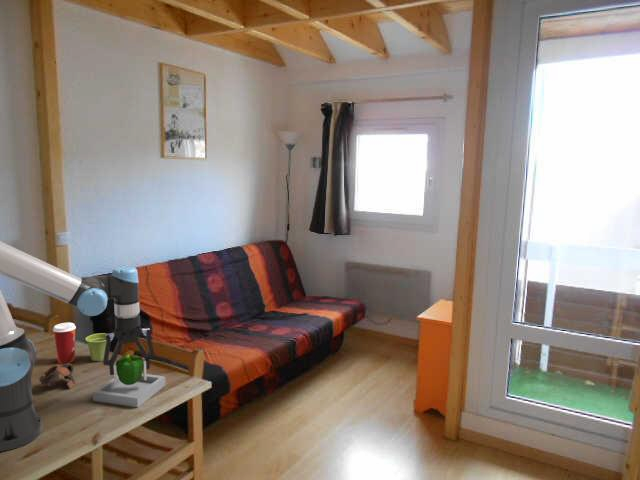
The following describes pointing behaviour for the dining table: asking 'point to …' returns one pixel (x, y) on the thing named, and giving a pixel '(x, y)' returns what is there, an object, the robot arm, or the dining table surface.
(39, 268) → the robot arm
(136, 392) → the gray square tray
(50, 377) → the pottery mug
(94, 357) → the plant pot
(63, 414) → the dining table surface
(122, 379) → the bell pepper
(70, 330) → the paper cup
